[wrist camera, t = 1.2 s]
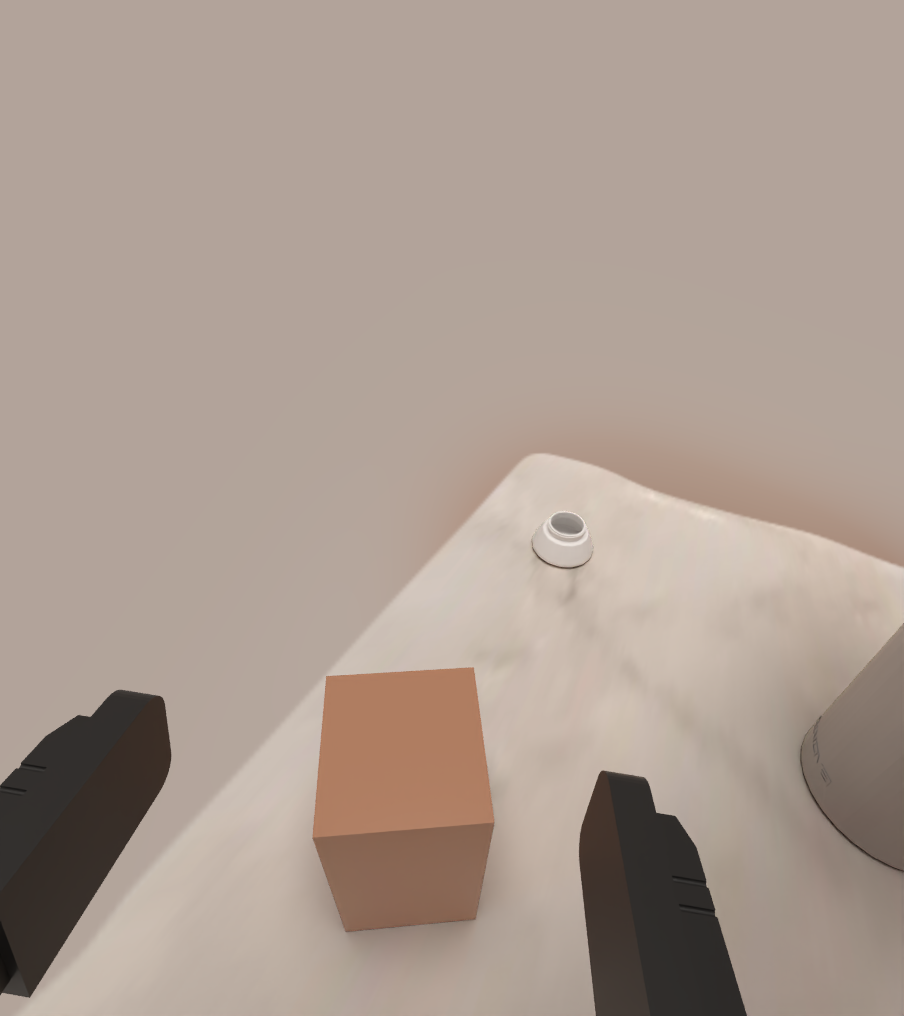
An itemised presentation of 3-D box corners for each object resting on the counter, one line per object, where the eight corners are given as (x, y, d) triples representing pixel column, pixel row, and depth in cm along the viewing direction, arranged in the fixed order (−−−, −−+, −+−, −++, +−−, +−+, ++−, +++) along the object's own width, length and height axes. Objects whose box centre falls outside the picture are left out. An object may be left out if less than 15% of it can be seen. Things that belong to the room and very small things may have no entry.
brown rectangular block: (462, 788, 34) (473, 667, 25) (475, 918, 29) (494, 822, 21) (351, 796, 33) (326, 676, 25) (345, 931, 28) (312, 837, 20)
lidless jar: (524, 558, 48) (582, 578, 46) (528, 533, 46) (590, 552, 44) (541, 521, 51) (597, 539, 50) (546, 496, 49) (604, 513, 48)
